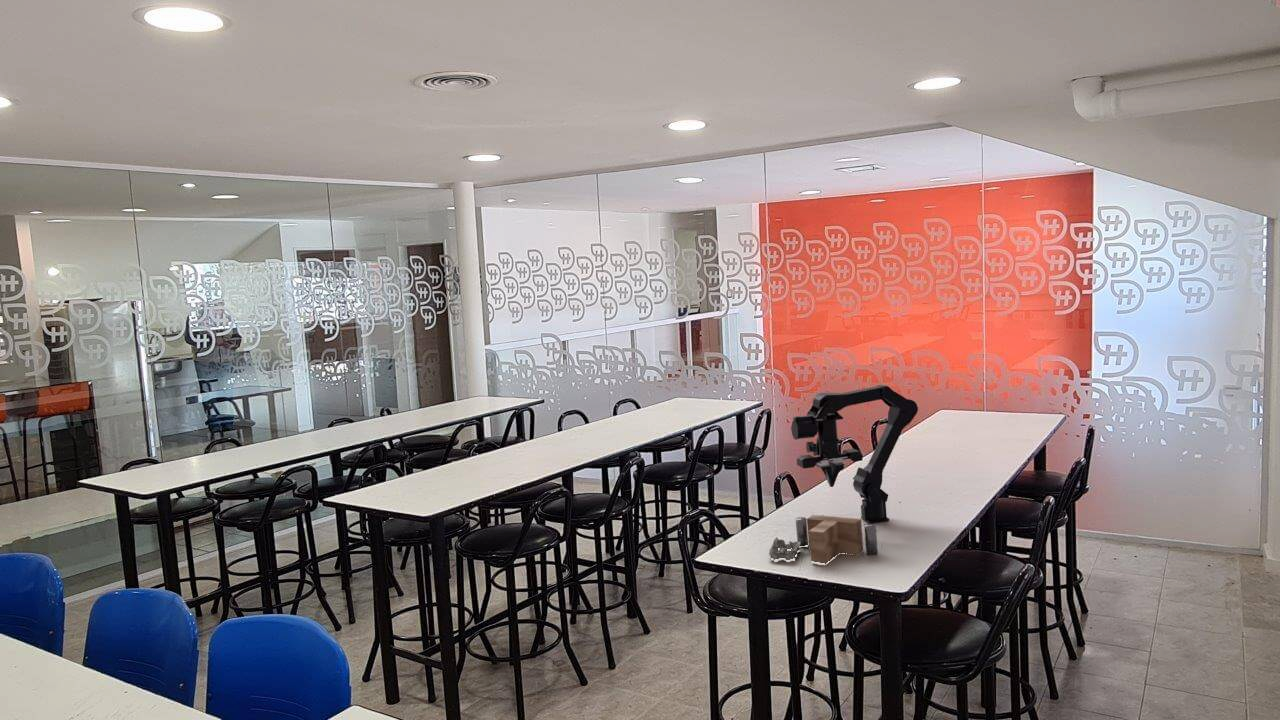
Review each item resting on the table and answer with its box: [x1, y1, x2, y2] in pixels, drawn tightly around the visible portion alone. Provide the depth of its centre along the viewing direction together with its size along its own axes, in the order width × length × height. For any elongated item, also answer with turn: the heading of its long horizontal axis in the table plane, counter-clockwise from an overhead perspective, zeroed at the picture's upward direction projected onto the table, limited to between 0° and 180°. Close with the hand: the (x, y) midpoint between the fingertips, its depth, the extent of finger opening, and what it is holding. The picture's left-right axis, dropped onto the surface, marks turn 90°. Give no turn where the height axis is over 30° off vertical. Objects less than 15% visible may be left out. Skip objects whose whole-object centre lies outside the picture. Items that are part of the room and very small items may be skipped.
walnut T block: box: [806, 514, 864, 564], centre depth 230 cm, size 14×14×9 cm
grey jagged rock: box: [768, 536, 801, 560], centre depth 234 cm, size 11×8×4 cm
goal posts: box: [795, 516, 879, 556], centre depth 234 cm, size 3×23×8 cm, turn 55°
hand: (831, 486), depth 256 cm, fingers closed
